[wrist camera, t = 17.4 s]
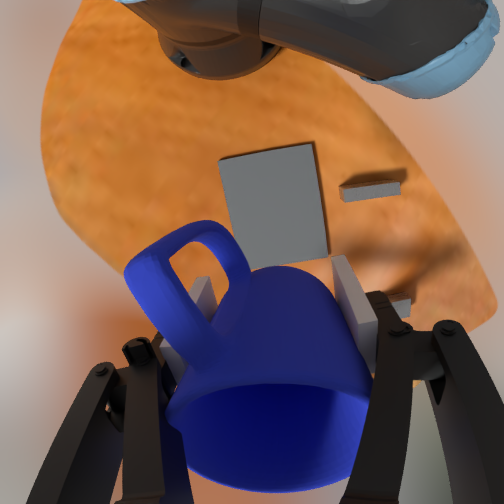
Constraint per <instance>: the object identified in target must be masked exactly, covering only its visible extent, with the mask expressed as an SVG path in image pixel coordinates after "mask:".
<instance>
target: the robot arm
mask: <svg viewBox="0 0 504 504" xmlns="http://www.w3.org/2000/svg"><path fill="white" fill-rule="evenodd" d="M115 1H117V2H120V3H122V4H123V5H124V6H126V7H127V8H129V9H130V10H131V11H133V12H134V13H135V14H137V15H138V16H139V17H141V18H142V19H143V20H145V21H146V22H147V23H149V24H150V25H151V26H152V27H154V28H155V29H156V30H157V32H158V38H159V42H160V45H161V47H162V49H163V51H164V53H165V54H166V56H167V57H168V58H169V59H170V60H171V62H173V63H174V64H175V65H176V66H178V67H179V68H180V69H182V70H183V71H185V72H187V73H189V74H191V75H193V76H196V77H199V78H203V79H208V80H228V79H234V78H238V77H242V76H245V75H248V74H250V73H252V72H254V71H256V70H258V69H259V68H261V67H262V66H264V65H265V64H266V63H268V62H269V61H270V60H271V59H272V58H273V57H274V56H275V55H276V53H277V52H278V51H279V49H280V47H281V46H282V47H285V48H288V49H291V50H294V51H297V52H300V53H303V54H306V55H309V56H312V57H315V58H317V59H320V60H323V61H325V62H328V63H330V64H333V65H335V66H338V67H340V68H343V69H345V70H347V71H350V72H352V73H354V74H357V75H359V76H360V78H361V79H363V80H365V81H366V82H369V83H372V84H378V85H382V86H384V87H386V88H389V89H391V90H393V91H395V92H397V93H399V94H401V95H403V96H406V97H409V98H413V99H420V98H422V99H431V98H436V97H439V96H442V95H445V94H447V93H449V92H451V91H453V90H455V89H456V88H458V87H459V86H461V85H462V84H464V83H465V82H466V81H467V80H469V79H470V78H471V77H472V76H473V75H474V74H475V73H476V72H477V71H478V70H479V69H480V67H481V66H482V65H483V64H484V62H485V61H486V60H487V58H488V57H489V55H490V53H491V52H492V50H493V47H494V45H495V41H494V39H493V37H494V36H495V35H497V34H498V33H499V27H500V19H499V14H498V11H497V9H496V7H495V5H494V4H493V2H492V0H115ZM331 260H332V270H333V280H334V290H335V300H336V302H337V304H338V306H339V308H340V310H341V312H342V314H343V316H344V318H345V320H346V322H347V325H348V327H349V329H350V331H351V334H352V336H353V338H354V341H355V343H356V346H357V348H358V351H359V352H360V353H361V355H362V356H363V358H364V360H365V362H366V364H367V366H368V368H369V370H370V373H371V374H373V373H375V374H374V380H373V385H372V390H371V396H370V400H369V405H368V410H367V414H366V419H365V423H364V427H363V431H362V435H361V439H360V443H359V447H358V451H357V454H356V458H355V461H354V465H353V468H352V472H351V475H350V478H349V481H348V484H347V487H346V490H345V493H344V495H343V497H342V498H341V500H340V503H339V504H399V501H398V496H399V491H400V486H401V481H402V476H403V470H404V464H405V458H406V452H407V443H408V437H409V427H410V417H411V406H412V392H413V380H424V381H425V384H426V387H427V390H428V394H429V397H430V400H431V404H432V407H433V411H434V415H435V418H436V422H437V426H438V430H439V434H440V438H441V442H442V446H443V451H444V455H445V460H446V465H447V470H448V475H449V481H450V486H451V492H452V498H453V504H504V404H503V402H502V400H501V397H500V395H499V393H498V391H497V389H496V387H495V385H494V383H493V381H492V379H491V377H490V375H489V373H488V371H487V369H486V367H485V365H484V363H483V361H482V360H481V358H480V356H479V354H478V352H477V350H476V349H475V347H474V345H473V343H472V342H471V340H470V338H469V336H468V335H467V333H466V331H465V330H464V328H463V326H462V325H461V324H460V323H458V322H456V321H453V320H442V321H439V322H437V323H436V324H435V325H434V327H433V330H432V331H415V330H413V327H412V326H411V325H410V324H408V323H406V322H403V321H402V320H401V319H400V317H399V315H398V314H397V312H396V310H395V309H394V307H393V305H392V304H391V302H390V300H389V299H388V297H387V295H386V294H384V293H382V292H381V291H373V292H368V293H364V291H363V289H362V287H361V285H360V283H359V281H358V279H357V277H356V275H355V274H354V272H353V270H352V268H351V266H350V264H349V262H348V260H347V259H346V257H345V255H339V256H333V257H331ZM188 294H189V295H190V297H191V299H192V300H193V301H194V303H195V304H196V305H197V307H198V308H199V310H200V311H201V312H202V314H203V315H204V316H205V318H206V319H207V320H208V322H209V323H210V321H211V319H212V317H213V316H214V314H215V312H216V310H217V308H218V305H217V302H216V298H215V295H214V291H213V288H212V284H211V281H210V277H209V276H205V277H198V278H196V280H195V282H194V284H193V286H192V287H191V289H190V291H189V293H188ZM122 351H123V353H124V355H125V357H126V359H127V361H128V363H129V367H125V368H120V369H116V368H115V367H114V365H113V364H112V363H111V362H103V363H100V364H97V365H96V366H95V367H93V368H92V370H91V371H90V373H89V374H88V376H87V378H86V380H85V381H84V383H83V385H82V387H81V389H80V391H79V392H78V394H77V396H76V398H75V400H74V402H73V404H72V405H71V407H70V409H69V411H68V413H67V415H66V417H65V419H64V421H63V423H62V425H61V427H60V429H59V431H58V433H57V435H56V437H55V439H54V441H53V443H52V445H51V447H50V450H49V452H48V454H47V456H46V458H45V460H44V462H43V465H42V467H41V469H40V471H39V473H38V476H37V478H36V480H35V483H34V485H33V488H32V490H31V492H30V495H29V497H28V500H27V502H26V504H110V500H111V496H112V493H113V489H114V486H115V482H116V478H117V475H118V471H119V468H120V464H121V461H122V458H123V470H122V473H123V474H122V477H123V478H122V479H123V480H122V484H123V485H122V486H123V496H122V499H121V500H119V501H116V502H115V503H114V504H194V500H193V496H192V491H191V485H190V480H189V475H188V469H187V463H186V457H185V451H184V444H183V438H182V433H181V432H180V431H178V430H177V429H176V428H174V427H173V426H171V425H170V424H169V423H168V421H167V420H166V417H165V410H166V408H167V406H168V404H169V402H170V400H171V398H172V396H173V394H174V391H175V388H176V385H177V386H178V384H179V382H180V380H181V378H182V376H183V374H184V372H185V370H186V368H187V366H188V364H189V363H188V362H187V361H186V360H185V359H183V358H182V357H181V356H180V355H179V354H178V353H177V352H176V351H175V350H174V349H173V348H172V347H171V346H170V344H169V343H168V342H167V341H166V340H165V338H164V337H163V336H162V335H161V333H160V332H159V331H158V332H157V334H156V335H155V337H154V339H153V340H152V342H151V343H150V340H149V339H148V338H146V337H138V338H135V339H132V340H130V341H129V342H127V343H126V344H125V345H124V346H123V348H122ZM106 405H108V406H109V409H108V410H107V411H106V410H105V408H106Z"/></svg>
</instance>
